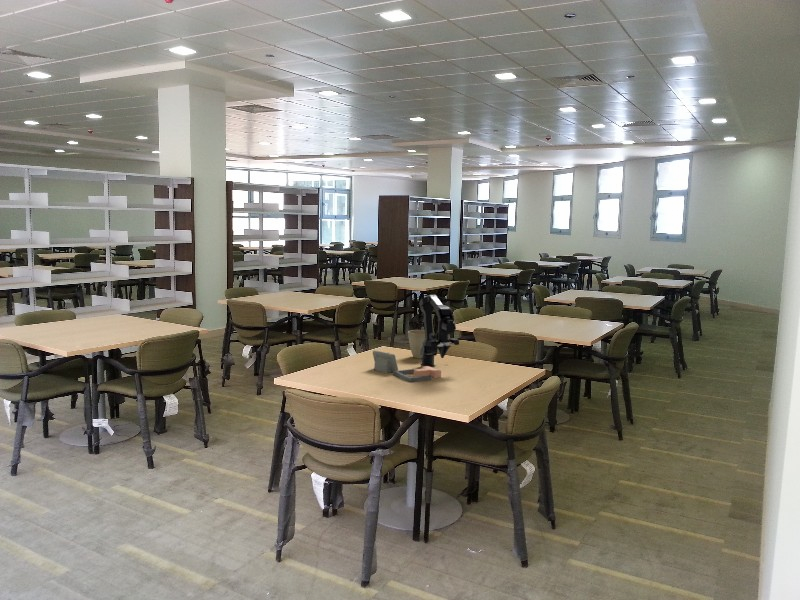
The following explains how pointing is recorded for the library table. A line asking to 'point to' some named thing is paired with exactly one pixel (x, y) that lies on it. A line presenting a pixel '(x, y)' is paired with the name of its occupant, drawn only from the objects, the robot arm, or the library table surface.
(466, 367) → the library table surface
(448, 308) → the robot arm
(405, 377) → the fence
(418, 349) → the plant pot
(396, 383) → the library table surface
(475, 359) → the library table surface
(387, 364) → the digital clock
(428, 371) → the t block
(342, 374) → the library table surface
